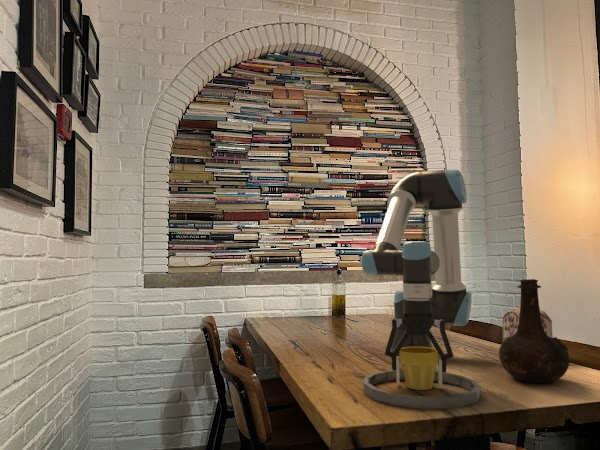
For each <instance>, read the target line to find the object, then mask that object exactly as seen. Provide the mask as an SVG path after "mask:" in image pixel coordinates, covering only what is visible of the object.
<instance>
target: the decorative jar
mask: <svg viewBox="0 0 600 450" xmlns="http://www.w3.org/2000/svg"><path fill="white" fill-rule="evenodd" d="M520 304H521V303H520ZM520 304H518V308H512V309H509V310H507V311H506V313H504V315H503V316H502V343H503V342H504V341H505V340H506V339H507V338H509V337H511V336H513V335H514V334H515V333H516V331H517V329H518V324H519V317H520ZM540 315H541V320H542V325H543V328H544V331H545V333H546V335H547V336H549V337H551V338H554V336H553V321H552V318H551V317H550V316H549V314H548V313H546V311H544V310H541V309H540Z"/></svg>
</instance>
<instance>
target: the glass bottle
mask: <svg viewBox="0 0 600 450" xmlns="http://www.w3.org/2000/svg"><path fill="white" fill-rule="evenodd" d="M538 282H539V280H538V279H535V278H532V279H531V278H530V279H529V278H527V279H526V278H525V279H521V280H520V285H517V288H518V289H520V317H519V324H518V329H517V331H516V333H515V334H514V335H513V336H511V337H509V338H507V339H506V340H505V341H504V342H503V341H502V343H501V344H500V347H499V350H498V358H499V361H500V364H501V366H502V367H503V369H504V370H505V371H506V372H507V374H509V375H510V376H511V377H513V378H514V379H516V380H519V381H522V382H526V383H530V384H532V383H533V384H548V383H553V382H557V381H558V380H559V379H561V378H563V377H564V375H565V374H566V373H567V371H568V370H569V366H570V355H569V348H568V346H567V345H565V344H564V343H563V342H562V340H560V339H559V338H558V337H556V336H553V338H551V337H549V336H547V335H546V333H545V331H544V328H543V325H542V320H541V315H540V310H541V309H540V304H539V303H540V301H539V291H538V290H539V289H540V288H542V286H541V285H539V284H538Z"/></svg>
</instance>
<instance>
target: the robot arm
mask: <svg viewBox="0 0 600 450" xmlns="http://www.w3.org/2000/svg"><path fill="white" fill-rule="evenodd" d="M466 188H467V187H466V184H465V179H464V176H463V173H462V172H461V171H460V170H458V169H441V170H439V169H438V170H431V171H429V170H428V171H416V172H412V173H410V174H408V175H406V176H404V177H403V178H402V179H400V180H399V181H397V182H396V184H395V185H394V186H393V188H392V189H391V191H390V192H389V195H388V198H387V204H388V206H387V210H386V213H385V215H384V218H383V221H382V223H381V226H380V227H381V228H380V230H379V233H378V235H377V238H376V241H375V245H374V247H373V249H369V250H368V249H367V250H364V251H363V253H362V255H361V268H362V271H363V273H364V274H366V275H370V276H402V289H399V290H396V291H395V292H394V300H393V305H394V306H393V307H394V309H393V310H394V311H393V313H394V317H393V318H392V319H391V330H390V333H389V336H388V340H387V343H386V347H385V351H384V355H385V356H387V357H390V358H391V370H396V377H397V380H396V384H397V385H400V384H401V383H400V382H401V380H399V370H400V362H399V351H400V350H401V348H404V347H429V348H434V349H436V350H437V351H438V353H439V356H440V357H439V362H438V364H437V369H438V370H437V371H438V385H439V386H440V387H443V382H442V372H446V373H447V360H448V359H451V358H454V352H453V349H452V347H451V343H450V341H449V339H448V335H447V332H446V327H445V326H451V327H456V326H457V327H458V326H459V327H461V326H462V327H463V326H466V325H467V324H468V322H469V320H470V314H471V310H472V293H471V292H470V291H467V285H465V284H464V283H463V282H462V271H461V270H462V269H461V268H462V267H461V253H460V252H461V251H460V250H461V249H460V233H459V232H460V228H459V213H460V212H461V211H462V210H463V204H464V205H465V204H466V203H467V201H468V197H467V189H466ZM416 206H426V207H427V208H426V210H427V211H428V212H429V213H430V214H431V217H432V219H431V221H432V237H433V250H432V248H431V243H430V242H428V241H406V242H404V243H403V244H402V241H403V237H404V235H405V232H406V229H407V225H408V221H409V218H410V215H411V212H412V211H414V210H415V207H416ZM401 244H402V249H401ZM432 275H434V276H435V277H434V278H435V283H434V284H433V285H432ZM434 325H435V326H436V328H438V329H439V332H440V335H441V339H442V341H443V344H444V347H445V350H446V353H444V350H443V349H442V347H441V346H440V344H439V343H438V341H437V340H436V339H435V336H434V334H432V332H431V328H433V326H434Z"/></svg>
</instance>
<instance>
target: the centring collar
mask: <svg viewBox="0 0 600 450" xmlns="http://www.w3.org/2000/svg"><path fill="white" fill-rule="evenodd" d="M401 380H402V381H403V380H405V376H404V372H403V369H399V381H401ZM389 381H397V377H396V370H392V369H391V370H382V371H377V372H374V373H370V374H368V375H367V376H365V377H364V378H363V394H364V395H366V396H367V397H369V398H370V399H372V400H374V401H377V402H380V403H383V404H386V405H389V406H396V407H400V408H401V407H402V408H409V409H416V410H417V409H418V410H419V409H420V410H447V409H457V407H460V408H465V407H468V406H471V405H474V404H476V402H477V403H478V401H479V400H480V398H481V397H482V396H481V393H482V392H481V385H480V384H479V383H477V381H476V380H474V379H471V378H468V377H466V376H464V375H459V374H455V373H450V372H447V371H446V372H442V383H444V382H445V383H444V384H450V385H453V384H454V386H457V385H459V386H458V387H460V386H461V387H460V388H463V389H465V388H466V389H465V390H467V389H468V391H466V392H464V393H463V392H462V393H460V394H452V395H441V396H440V395H439V396H434V395H433V396H432V395H431V396H428V395H413V394H405V393H404V394H403V393H398V392H392V391H387V390H384V389H381V388H377V387H376V386H374V385H376V384H380V383H381V384H382V383H384V382H389ZM433 382H438V370H437V371H436V370H435V375H434V381H433ZM470 390H471V391H470ZM473 403H474V404H473ZM470 404H471V405H470ZM467 405H468V406H467ZM464 406H465V407H464Z"/></svg>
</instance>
